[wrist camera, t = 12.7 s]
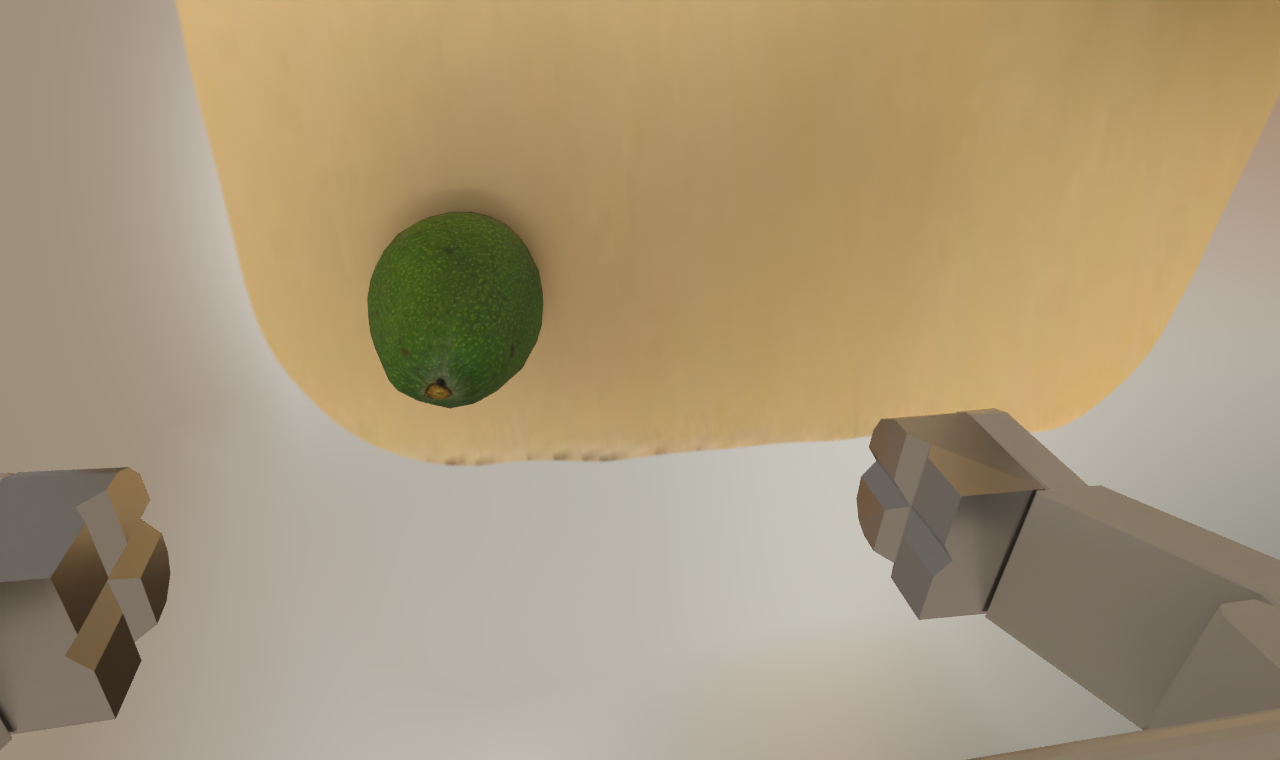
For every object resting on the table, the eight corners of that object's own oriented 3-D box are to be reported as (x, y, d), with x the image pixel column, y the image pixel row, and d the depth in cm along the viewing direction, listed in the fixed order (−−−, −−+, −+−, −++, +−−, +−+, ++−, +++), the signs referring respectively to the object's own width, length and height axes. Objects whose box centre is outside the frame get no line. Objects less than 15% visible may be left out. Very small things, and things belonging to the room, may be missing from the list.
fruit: (558, 301, 42) (587, 424, 32) (422, 351, 42) (409, 490, 32) (501, 164, 37) (515, 255, 27) (350, 219, 37) (307, 331, 27)
